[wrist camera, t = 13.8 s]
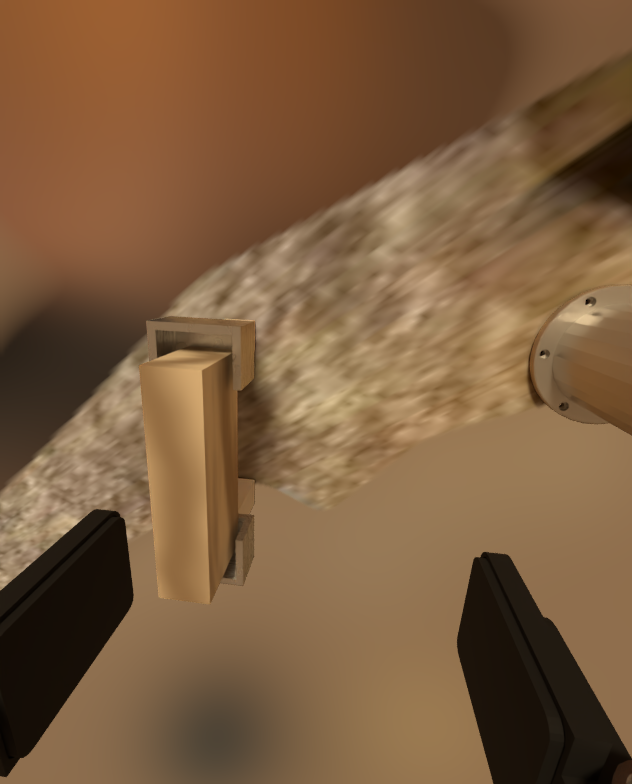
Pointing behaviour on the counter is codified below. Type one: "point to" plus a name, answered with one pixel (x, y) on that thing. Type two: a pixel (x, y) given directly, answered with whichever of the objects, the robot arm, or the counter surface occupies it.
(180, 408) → the rail
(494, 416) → the counter surface
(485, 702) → the robot arm
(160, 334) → the bracket stand
